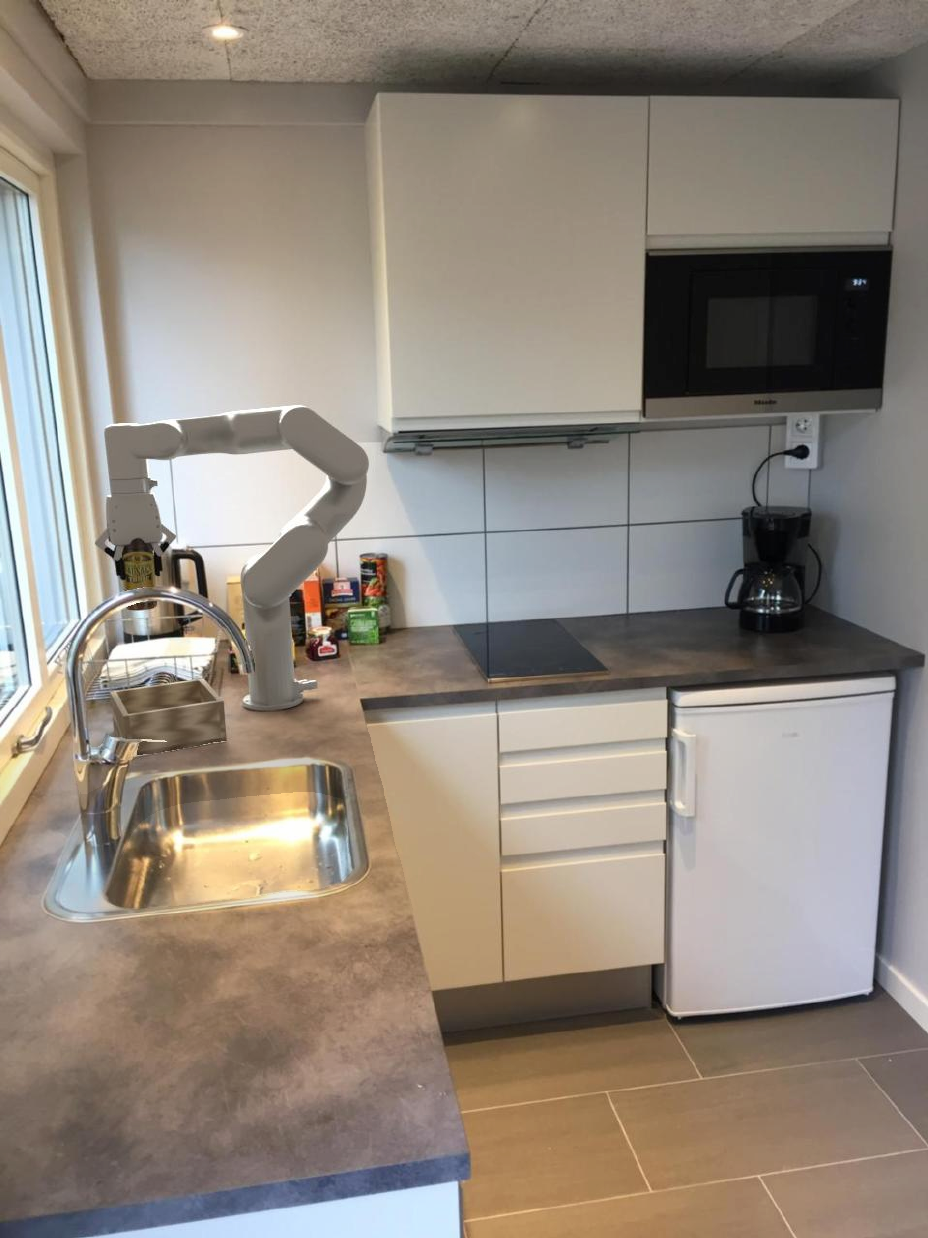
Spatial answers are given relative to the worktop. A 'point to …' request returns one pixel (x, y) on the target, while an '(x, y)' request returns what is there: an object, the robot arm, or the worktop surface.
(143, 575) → the sauce bottle
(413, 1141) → the worktop surface
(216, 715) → the crate
